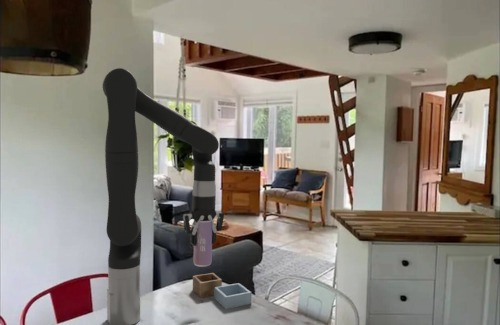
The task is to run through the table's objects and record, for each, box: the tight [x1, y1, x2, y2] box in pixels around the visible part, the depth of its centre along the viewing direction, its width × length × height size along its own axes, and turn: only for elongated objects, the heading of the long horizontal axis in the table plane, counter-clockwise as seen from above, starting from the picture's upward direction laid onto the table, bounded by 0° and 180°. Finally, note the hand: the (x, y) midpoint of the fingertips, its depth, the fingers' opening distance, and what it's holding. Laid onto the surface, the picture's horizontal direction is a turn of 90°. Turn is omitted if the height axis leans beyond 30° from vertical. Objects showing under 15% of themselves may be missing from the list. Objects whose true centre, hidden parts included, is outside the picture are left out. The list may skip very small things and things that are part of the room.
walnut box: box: [192, 272, 223, 299], centre depth 136 cm, size 8×8×6 cm
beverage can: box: [192, 220, 213, 268], centre depth 125 cm, size 6×6×15 cm
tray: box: [213, 282, 253, 310], centre depth 128 cm, size 10×10×5 cm
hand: (203, 244), depth 125 cm, fingers closed on beverage can, 6 cm apart
